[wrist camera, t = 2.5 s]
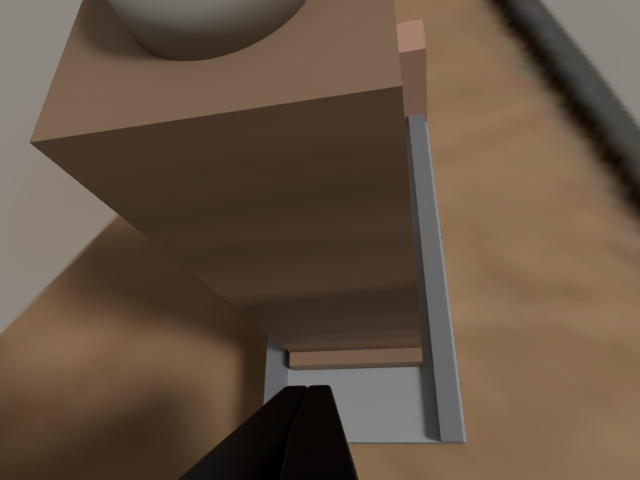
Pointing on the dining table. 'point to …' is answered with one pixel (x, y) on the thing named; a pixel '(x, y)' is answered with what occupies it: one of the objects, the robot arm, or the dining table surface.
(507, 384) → the dining table surface
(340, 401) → the rail
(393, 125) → the slider block with knob
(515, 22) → the dining table surface
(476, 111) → the dining table surface
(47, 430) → the dining table surface
